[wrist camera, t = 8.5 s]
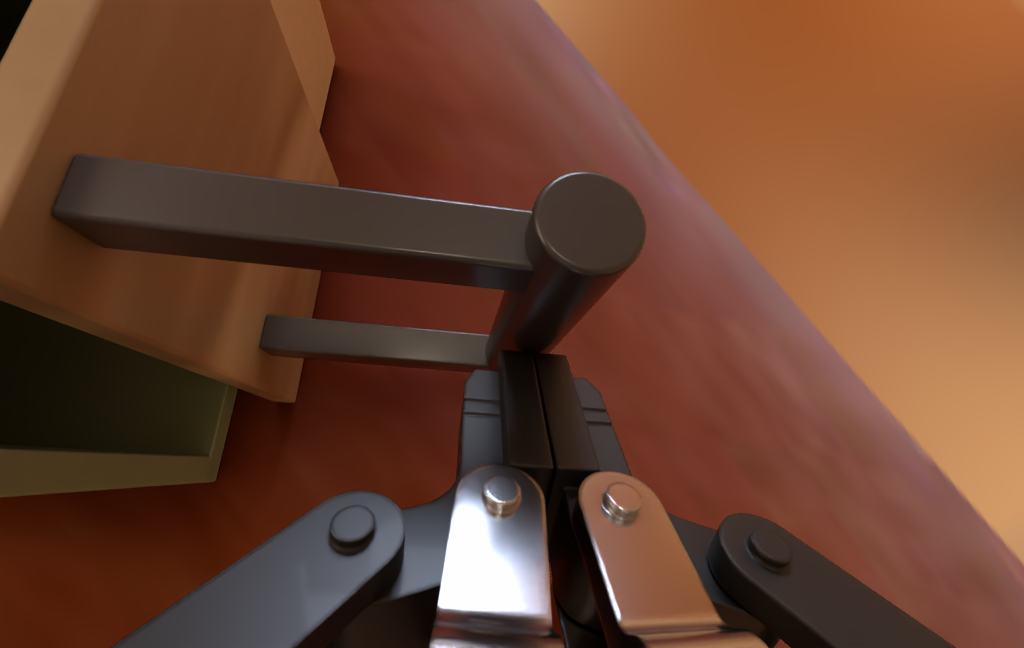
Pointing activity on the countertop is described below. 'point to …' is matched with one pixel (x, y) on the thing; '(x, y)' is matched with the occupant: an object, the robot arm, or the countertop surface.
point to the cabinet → (121, 362)
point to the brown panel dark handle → (251, 206)
